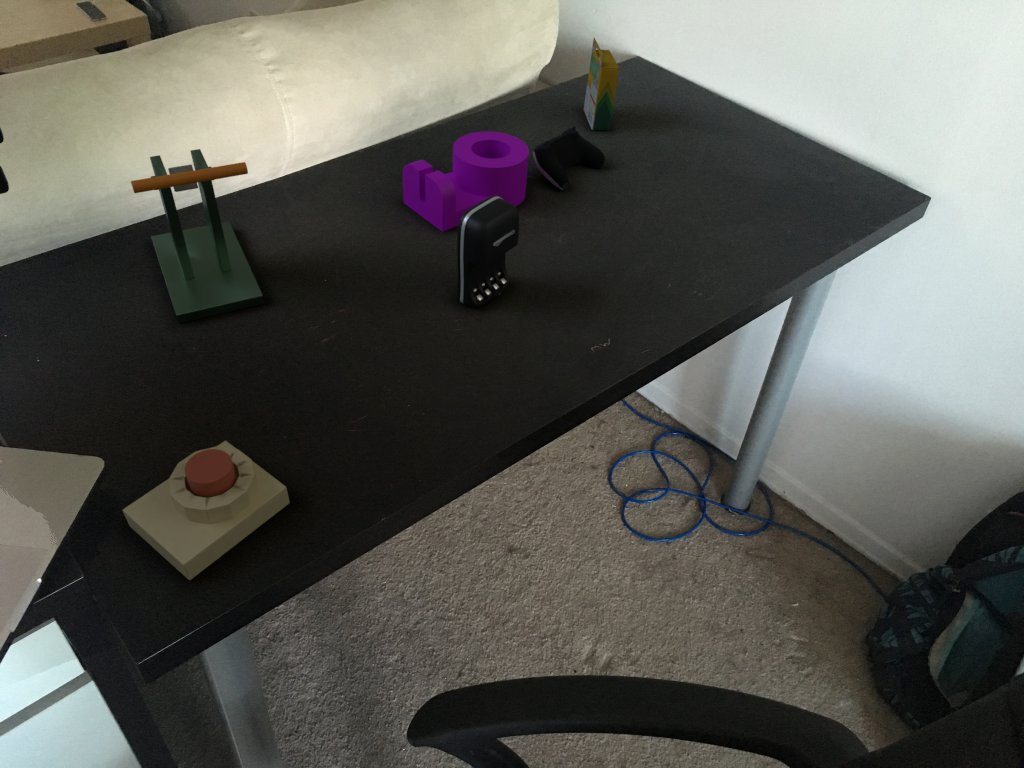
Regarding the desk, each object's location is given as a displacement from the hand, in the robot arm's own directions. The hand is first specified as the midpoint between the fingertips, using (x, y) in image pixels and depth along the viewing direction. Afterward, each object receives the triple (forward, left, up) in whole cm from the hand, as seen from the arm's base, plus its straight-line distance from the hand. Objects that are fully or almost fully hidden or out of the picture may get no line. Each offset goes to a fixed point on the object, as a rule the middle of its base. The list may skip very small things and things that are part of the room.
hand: (2, 151), depth 63 cm
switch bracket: (+16, +3, -22) cm, 28 cm away
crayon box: (+82, -7, -22) cm, 85 cm away
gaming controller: (+65, -13, -22) cm, 70 cm away
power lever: (+14, -2, -9) cm, 17 cm away
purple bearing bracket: (+50, -8, -22) cm, 55 cm away
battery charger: (+35, -23, -22) cm, 47 cm away
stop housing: (-4, -25, -22) cm, 34 cm away
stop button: (-3, -25, -18) cm, 31 cm away
